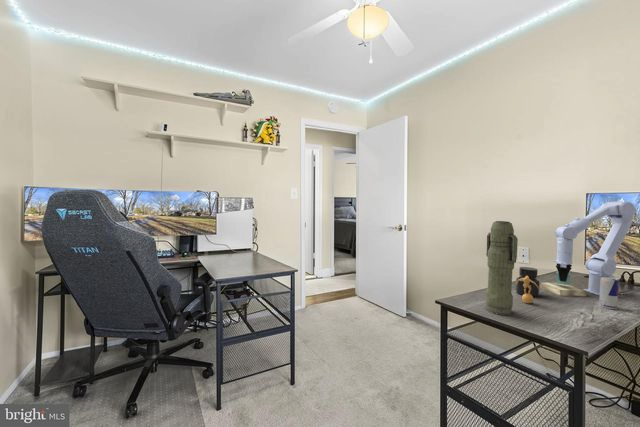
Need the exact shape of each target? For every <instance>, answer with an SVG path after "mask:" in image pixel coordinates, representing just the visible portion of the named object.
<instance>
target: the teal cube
mask: <svg viewBox="0 0 640 427" xmlns="http://www.w3.org/2000/svg"><path fill="white" fill-rule="evenodd" d="M555 283H557V284H563V285H569V286H570V285H571V272H569V273H568V276H567V280H566V282H564V281H560V279H559V273H558V270H556V274H555Z"/></svg>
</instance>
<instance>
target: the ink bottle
mask: <svg viewBox="0 0 640 427" xmlns="http://www.w3.org/2000/svg"><path fill="white" fill-rule="evenodd" d="M518 273H519V276H518V277H516V279H515V293H517V294H519V295H522V296H523V295H524V294H525V292H524V289H525V288H524V286H523V284H525V283H524V281H523V280H519V281H518V284H516V282H517V280H518V279H522V278H525V277H526V276H528V277H529V279H530V280H532V281H533V282H535V283H536V285H537V286H538V287H539V289H538V287H537V286H536V285H535V284H534V283H532V282H530V283H529V285H531V291H530V294H531V295H532V296H533V298H536V297H539V296H540V288H541V282H540V281H539V280H538V269H537V268H535V267H529V266H528V267H527V266H519V272H518ZM529 290H530V289H529V288H528V287H527V288H526V293H527V294H529V293H528V292H529Z"/></svg>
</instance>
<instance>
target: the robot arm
mask: <svg viewBox="0 0 640 427" xmlns="http://www.w3.org/2000/svg"><path fill="white" fill-rule="evenodd" d="M636 212H637V208H636V207H635V206H634V203H632V202H631V201H607V202H606V201H605V202H604V203H603V204H601V205H600V206H599V207H598V208H597V209H595V210H594V211H592V212H590V213H589V214H587V215H586V216H584V217H575V218H574V220H572V221H571V222H569V223H565V225H564V226H562V225H561V226H559V227H557V228H556V230H555V231H554V235H555V237H556V241H557V242H556V244H557V245H556V259H553V262H556V265H555V267H556V271H558V273H559V279H560V281H564V282H566V280H567V276H568V273H570V271H571V270H572V266H573V265H572V264H573V253H574V252H573V250H574V249H573V248H574V239H576V238H577V236H578V234H580V233H582V232H584V231H585V230H586V229H588V228H590V227H591V223H594V222H596V221H598V220H600V219H603V217H605V216H607V218H609V219H610V220H611V221H612V222H613V224H612V226H611V228H610V229H609V232H608V234H607V236H606V238H605V239H604V241H603V242H602V245H601V247H600V249H599V250H598V252H597V253H595V254H592V255H591V257H589V259H587V261H585V265H584V266H585V269H586V270H587V271H588V272H587V273H588V275H589V276H588V287H587V288H582V289H583V290H586V291H587V293H591V294H593V295H597V296H600V281H601V278H602V277H611V278H616V277H615V276H614V274H615V272H616V269H617V265H618V261H616V259H615V256H616V254H617V252H618V251H619V249H620V247H621V245H622V243H623V242H624V240H625V237H626V236H627V234H628V231H630V228H631V226H632V224H633V218H634V215H635V214H636Z"/></svg>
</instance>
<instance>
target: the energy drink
mask: <svg viewBox="0 0 640 427" xmlns="http://www.w3.org/2000/svg"><path fill="white" fill-rule="evenodd" d="M619 281H620V280H619V279H618V278H617V277H615V278H611V277H602V278H601V281H600V295H599V296H598V297H599V300H598V305H599V306H600V307H601V308H604V309H607V310H617V309H618V306H619V304H618V303H619V288H620V282H619Z"/></svg>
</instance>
